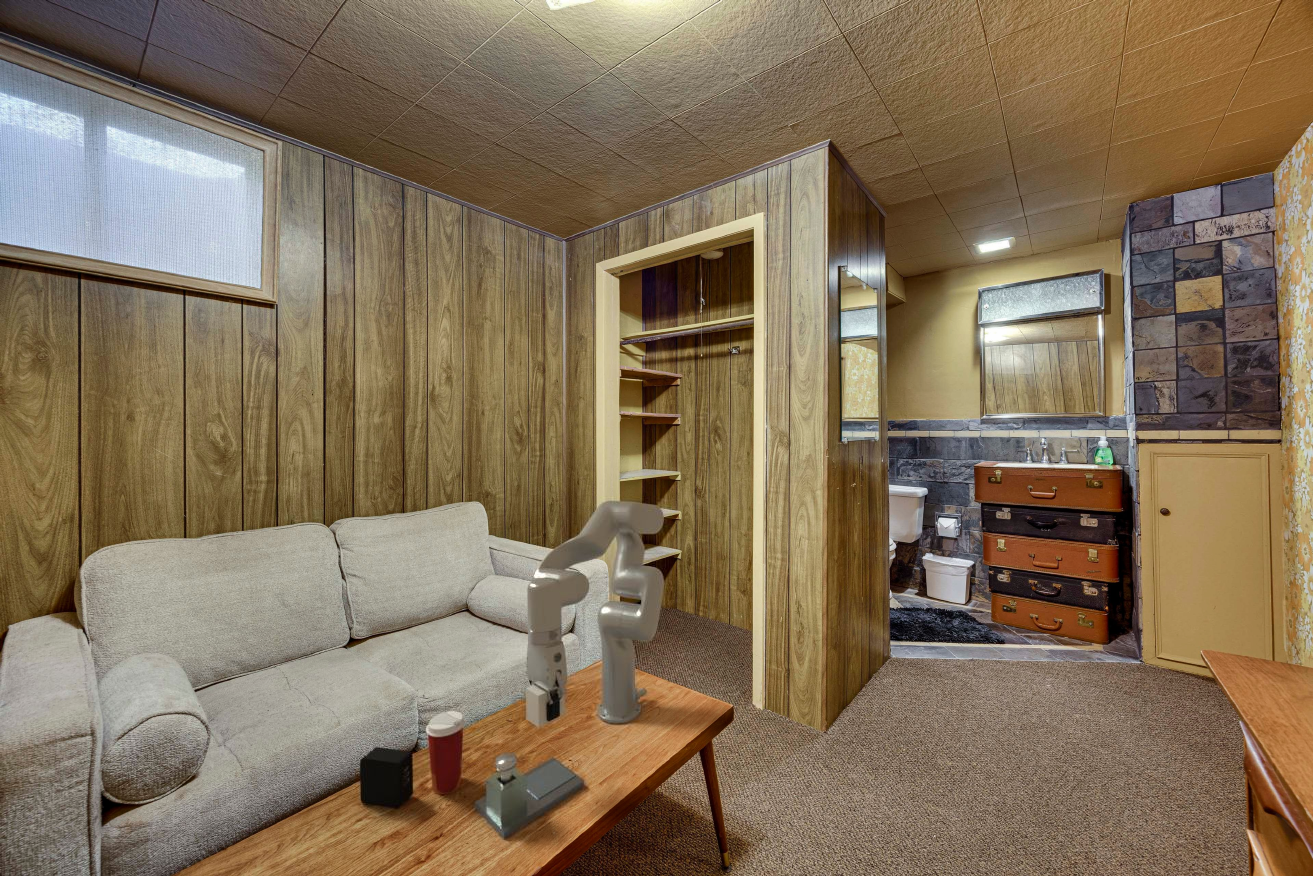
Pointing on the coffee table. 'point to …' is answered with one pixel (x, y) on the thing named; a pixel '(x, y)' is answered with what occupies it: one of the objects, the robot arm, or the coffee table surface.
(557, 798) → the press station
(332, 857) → the coffee table surface
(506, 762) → the pin
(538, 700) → the block
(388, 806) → the electronic device
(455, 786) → the coffee cup
